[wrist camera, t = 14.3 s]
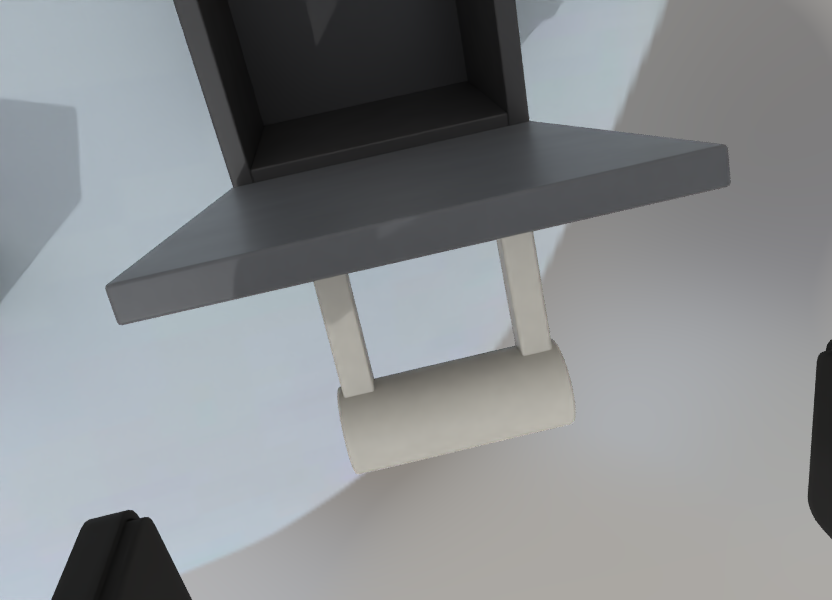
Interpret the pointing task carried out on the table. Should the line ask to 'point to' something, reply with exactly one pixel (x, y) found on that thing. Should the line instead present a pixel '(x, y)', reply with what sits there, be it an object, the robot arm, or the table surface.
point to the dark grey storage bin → (350, 77)
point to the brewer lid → (415, 237)
